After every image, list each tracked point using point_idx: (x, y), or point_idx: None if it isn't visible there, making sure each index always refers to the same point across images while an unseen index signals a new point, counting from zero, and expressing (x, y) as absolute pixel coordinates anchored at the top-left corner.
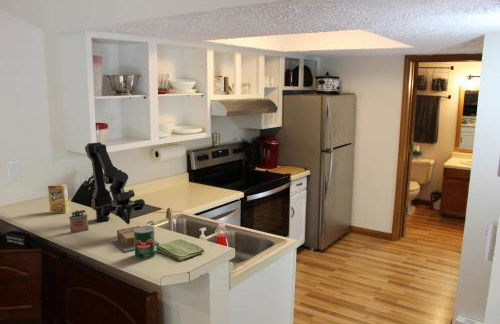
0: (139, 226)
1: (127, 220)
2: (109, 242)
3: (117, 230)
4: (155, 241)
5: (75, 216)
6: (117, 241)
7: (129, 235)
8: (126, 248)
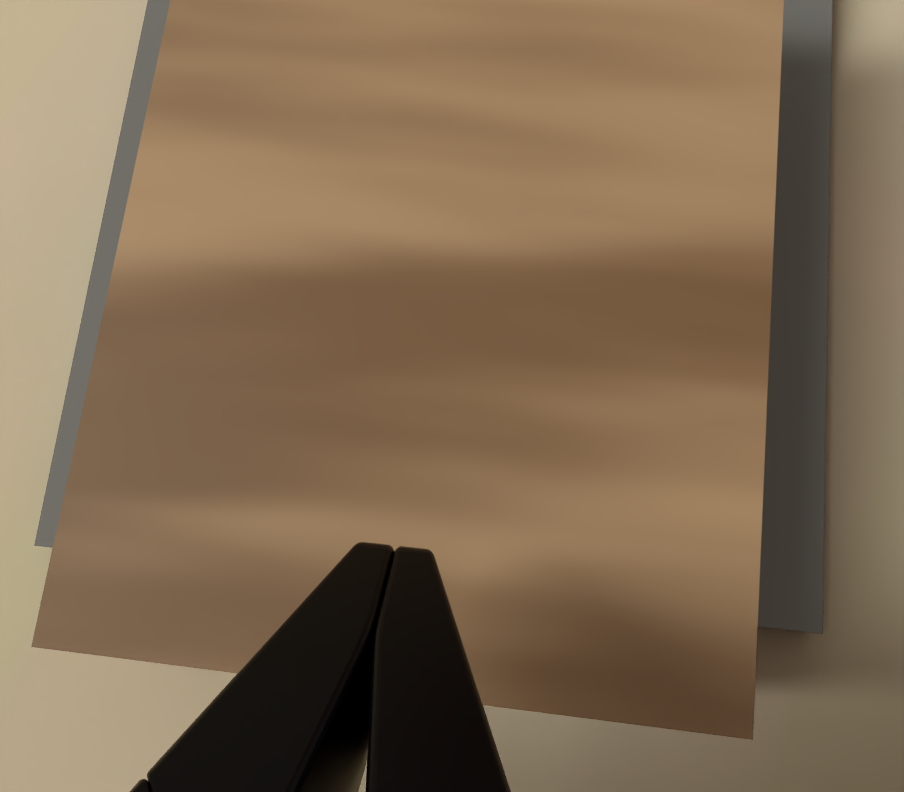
0: (50, 582)
1: (410, 620)
2: (860, 691)
3: (742, 706)
4: (160, 5)
5: None
6: None
7: (648, 61)
8: None
